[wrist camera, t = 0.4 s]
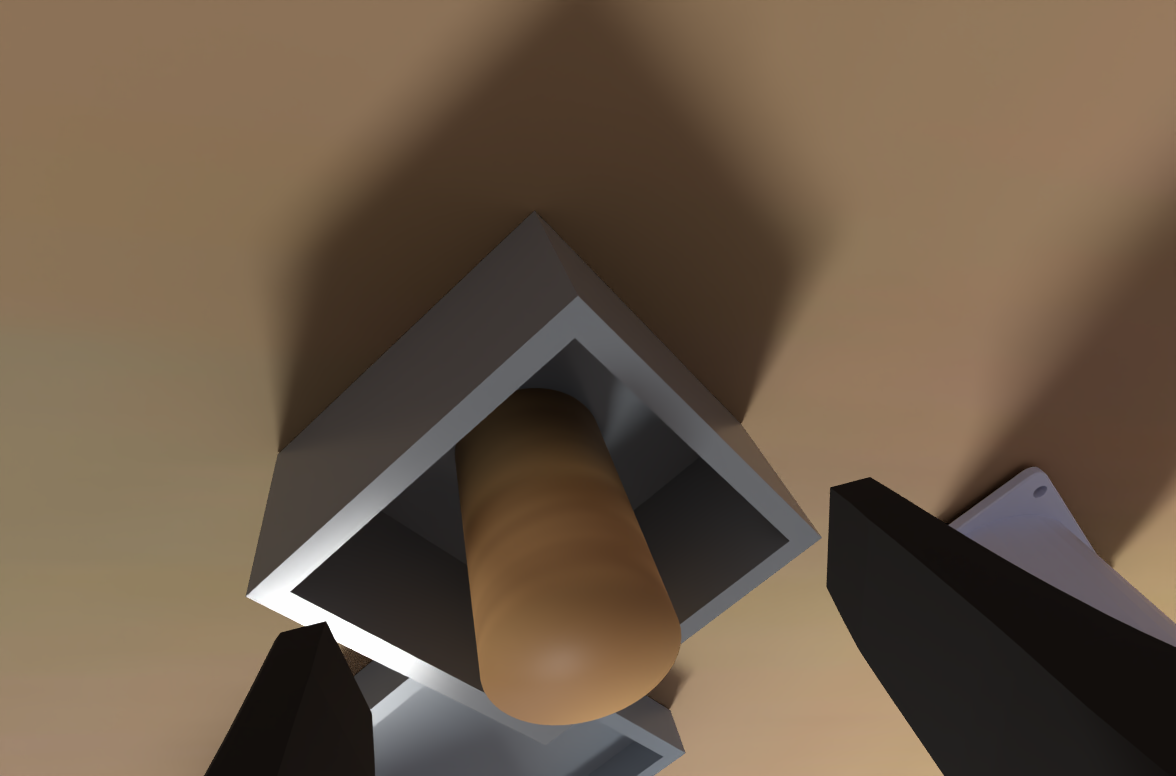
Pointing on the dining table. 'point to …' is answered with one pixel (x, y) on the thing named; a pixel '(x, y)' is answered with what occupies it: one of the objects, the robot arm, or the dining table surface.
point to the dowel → (558, 566)
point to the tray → (505, 737)
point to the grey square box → (429, 479)
